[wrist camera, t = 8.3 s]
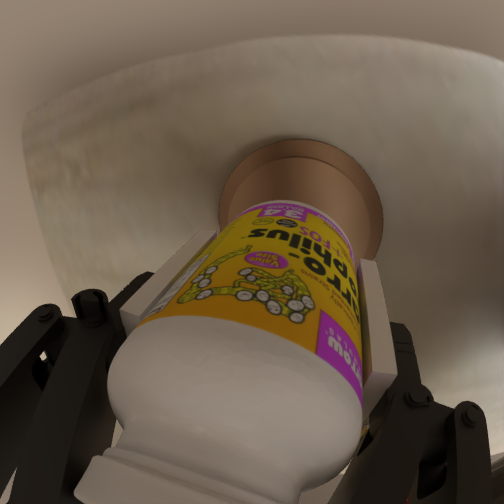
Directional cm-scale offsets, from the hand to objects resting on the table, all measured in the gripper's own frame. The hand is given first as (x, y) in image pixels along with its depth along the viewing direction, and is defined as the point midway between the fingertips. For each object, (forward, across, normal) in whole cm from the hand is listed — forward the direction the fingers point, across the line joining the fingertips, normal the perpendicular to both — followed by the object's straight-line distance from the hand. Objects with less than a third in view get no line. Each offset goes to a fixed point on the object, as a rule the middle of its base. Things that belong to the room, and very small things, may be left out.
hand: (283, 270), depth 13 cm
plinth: (+7, 0, 0) cm, 7 cm away
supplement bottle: (+1, 0, 0) cm, 1 cm away
